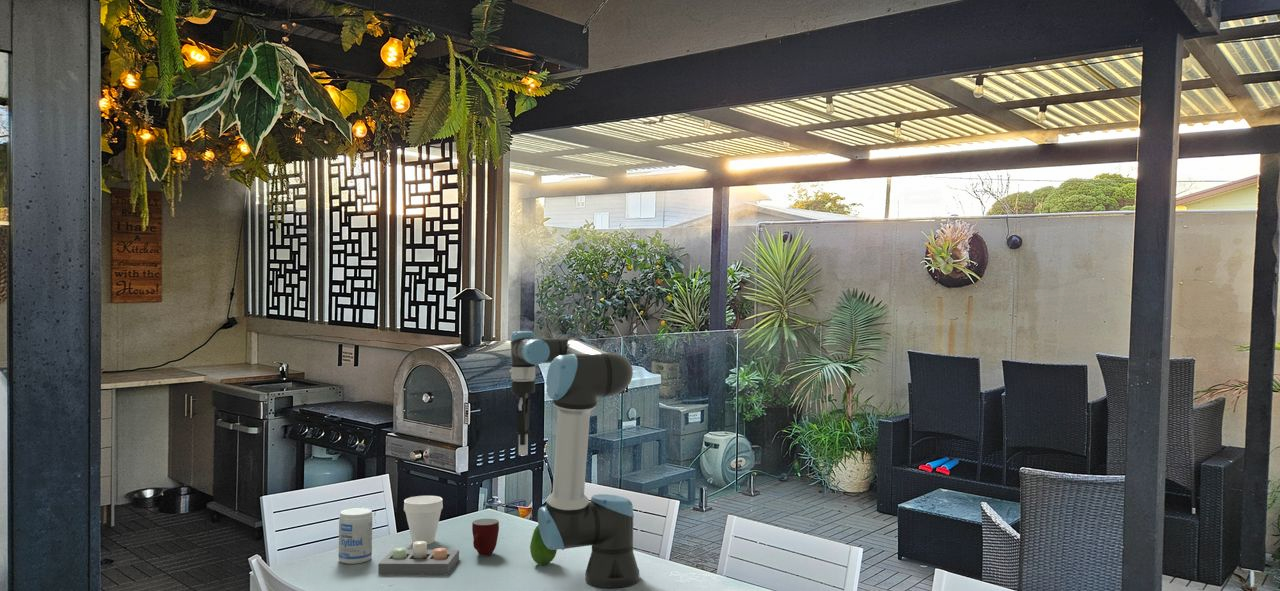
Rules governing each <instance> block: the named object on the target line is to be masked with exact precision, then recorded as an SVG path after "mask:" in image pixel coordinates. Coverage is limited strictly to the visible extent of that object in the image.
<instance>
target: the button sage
mask: <svg viewBox="0 0 1280 591" xmlns="http://www.w3.org/2000/svg"><path fill="white" fill-rule="evenodd" d="M392 550H393V559H406V558H407V550H408V548H406V547H395V548H393V549H392Z"/></svg>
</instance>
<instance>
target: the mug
mask: <svg viewBox="0 0 1280 591" xmlns="http://www.w3.org/2000/svg"><path fill="white" fill-rule="evenodd" d="M471 524H472V525H471V526H472V529H471V530H472V531H471V532H472V538H473V543H472V544H473V548H474V550H476V552H477V553H478V555H479V556H481V557H488V556H491V555H493V553H494V551H495V549H496V547H497V543H498V537H499V530H500V521H499V520H498V519H495V518H480V519H479V518H478V519H476V520H473V521H472V523H471Z"/></svg>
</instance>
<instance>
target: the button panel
mask: <svg viewBox="0 0 1280 591" xmlns="http://www.w3.org/2000/svg"><path fill="white" fill-rule="evenodd" d="M459 561H460V549H447V559H433V549H427V557H425V558H419V559H417V558H413V549H407V558H406V559H393V549H392V550H391V551H390V552H389V553H388V554H386V555H385V557H384V558H382V559H381V560H380V561H379V562H378V564H377V565H378V566H377V568H378V571H377V572H378V575H449V574H450V572H451V571H452V569H453V570H454V567H455V566H456V564H458V562H459Z"/></svg>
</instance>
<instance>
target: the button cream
mask: <svg viewBox="0 0 1280 591" xmlns="http://www.w3.org/2000/svg"><path fill="white" fill-rule="evenodd" d="M427 545H428V544H427V542H426V541H416V542H414V543H413V542H412V550H413V558H417V559H419V558H425V557H427V550H428V546H427Z"/></svg>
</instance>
